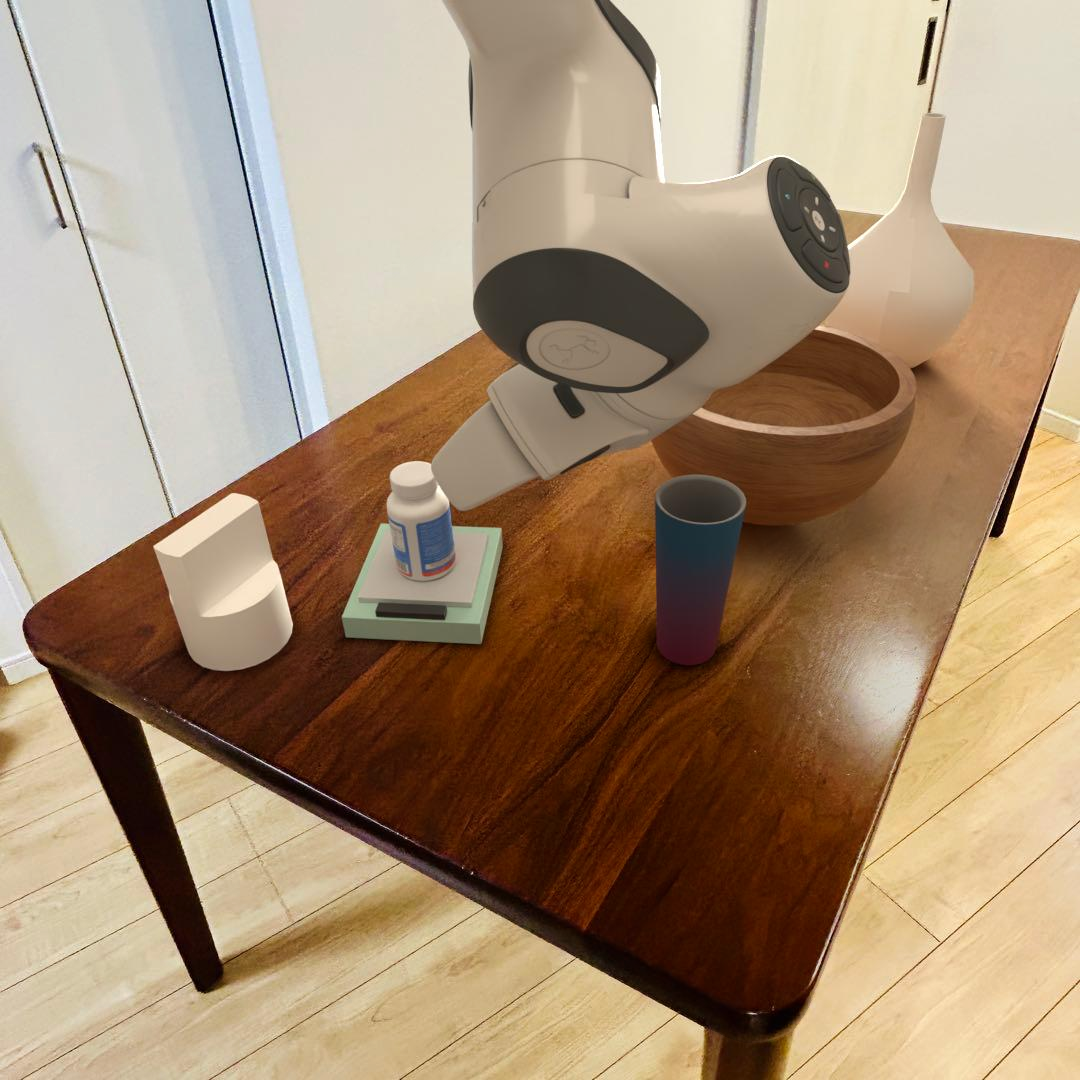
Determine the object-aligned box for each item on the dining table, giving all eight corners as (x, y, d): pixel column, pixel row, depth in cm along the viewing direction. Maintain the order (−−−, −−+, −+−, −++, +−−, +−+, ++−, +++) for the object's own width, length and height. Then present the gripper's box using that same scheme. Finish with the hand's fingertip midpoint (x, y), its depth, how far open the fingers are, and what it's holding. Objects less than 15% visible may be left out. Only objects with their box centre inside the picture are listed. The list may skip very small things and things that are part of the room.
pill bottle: (461, 548, 84) (452, 457, 78) (449, 584, 79) (439, 492, 74) (404, 544, 84) (391, 455, 79) (389, 580, 80) (374, 488, 74)
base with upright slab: (241, 684, 74) (206, 570, 67) (165, 649, 78) (123, 537, 71) (314, 620, 81) (288, 509, 74) (239, 590, 84) (208, 482, 77)
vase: (783, 349, 124) (817, 113, 106) (873, 317, 132) (919, 93, 114) (892, 399, 111) (951, 141, 93) (984, 361, 119) (1055, 117, 101)
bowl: (802, 615, 80) (830, 469, 71) (589, 508, 94) (590, 376, 85) (929, 497, 94) (966, 364, 85) (727, 420, 108) (741, 299, 99)
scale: (481, 644, 78) (478, 617, 76) (345, 637, 79) (339, 610, 77) (502, 547, 89) (501, 521, 87) (383, 542, 90) (379, 517, 88)
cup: (742, 659, 75) (764, 511, 66) (669, 682, 73) (682, 533, 64) (701, 610, 80) (716, 466, 72) (632, 630, 78) (639, 485, 70)
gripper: (691, 281, 61) (579, 373, 72) (475, 387, 49) (381, 478, 60) (741, 360, 61) (622, 440, 72) (538, 485, 49) (433, 558, 60)
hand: (511, 458), depth 66 cm, fingers open, 8 cm apart
